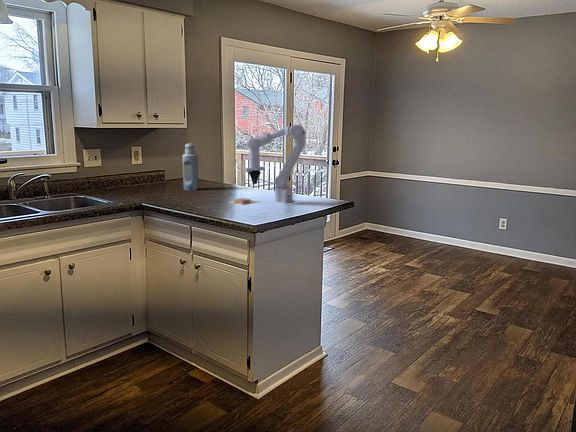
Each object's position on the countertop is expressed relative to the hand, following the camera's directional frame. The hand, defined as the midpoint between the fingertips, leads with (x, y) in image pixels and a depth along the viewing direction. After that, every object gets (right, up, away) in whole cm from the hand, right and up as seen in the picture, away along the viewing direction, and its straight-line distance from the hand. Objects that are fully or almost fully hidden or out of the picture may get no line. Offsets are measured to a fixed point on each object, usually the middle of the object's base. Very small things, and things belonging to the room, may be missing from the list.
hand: (254, 183), depth 277 cm
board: (-6, -11, -5) cm, 13 cm away
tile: (-4, -9, -5) cm, 11 cm away
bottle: (-45, -1, +45) cm, 64 cm away
